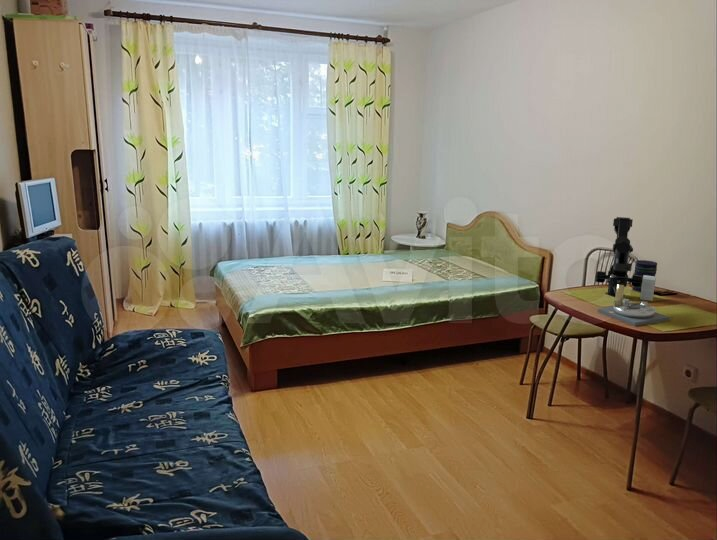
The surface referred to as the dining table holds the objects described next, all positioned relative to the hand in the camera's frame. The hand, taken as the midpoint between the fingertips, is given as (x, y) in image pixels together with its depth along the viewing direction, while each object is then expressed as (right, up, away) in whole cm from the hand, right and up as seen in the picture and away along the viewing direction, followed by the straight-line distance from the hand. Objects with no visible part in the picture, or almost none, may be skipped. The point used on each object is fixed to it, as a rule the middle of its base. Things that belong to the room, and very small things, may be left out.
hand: (616, 295), depth 231 cm
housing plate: (+7, -9, -1) cm, 11 cm away
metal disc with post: (+7, -8, -1) cm, 10 cm away
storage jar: (+33, 0, +40) cm, 52 cm away
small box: (+28, -3, +27) cm, 39 cm away
